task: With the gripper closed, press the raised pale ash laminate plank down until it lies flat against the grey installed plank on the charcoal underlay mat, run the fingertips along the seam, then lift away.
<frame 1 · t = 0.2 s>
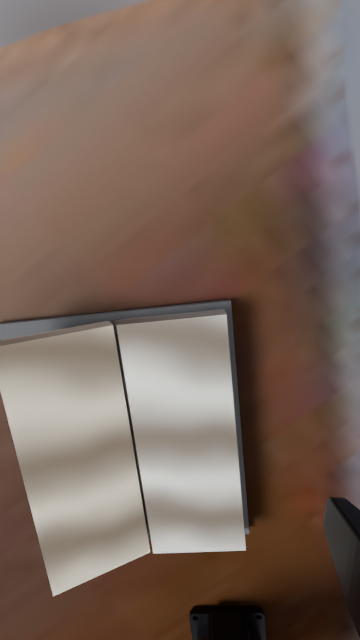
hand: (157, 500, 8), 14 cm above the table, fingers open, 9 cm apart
installed plank: (187, 426, 23), resting on underlay mat
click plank: (81, 457, 21), point 3 cm above the table, hinge at 25.0°
underlay mat: (129, 430, 24), on the table
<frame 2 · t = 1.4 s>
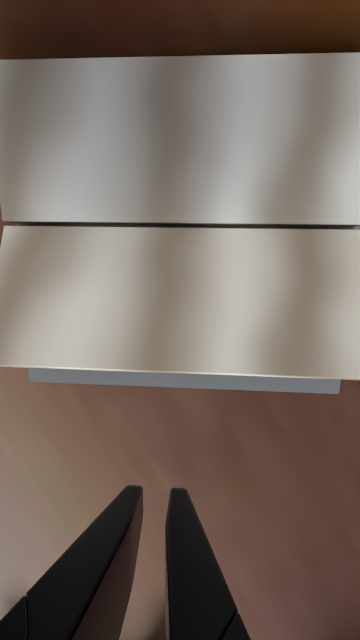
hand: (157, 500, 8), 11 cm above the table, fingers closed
installed plank: (183, 159, 17), resting on underlay mat
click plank: (178, 301, 15), point 3 cm above the table, hinge at 25.0°
underlay mat: (182, 244, 17), on the table
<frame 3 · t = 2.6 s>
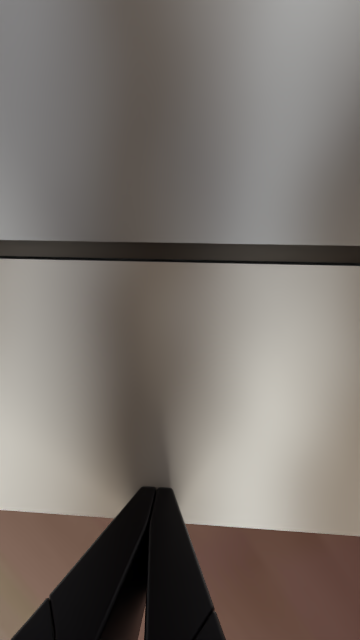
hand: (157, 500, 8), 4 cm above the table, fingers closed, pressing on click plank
installed plank: (173, 128, 10), resting on underlay mat
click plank: (163, 384, 9), point 2 cm above the table, hinge at 15.5°, touching gripper
underlay mat: (171, 271, 11), on the table
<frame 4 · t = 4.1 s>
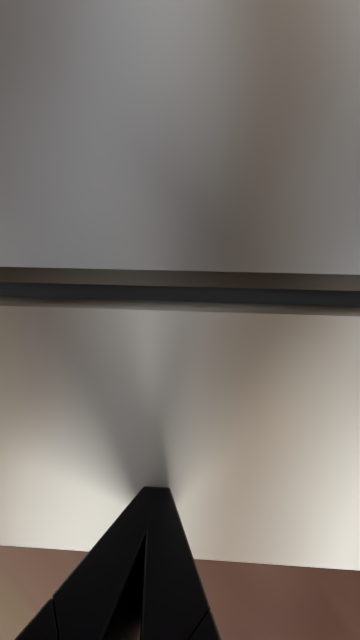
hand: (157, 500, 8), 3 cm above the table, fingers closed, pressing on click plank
installed plank: (274, 140, 9), resting on underlay mat
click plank: (264, 430, 9), point 2 cm above the table, hinge at 1.6°, touching gripper
underlay mat: (262, 300, 10), on the table
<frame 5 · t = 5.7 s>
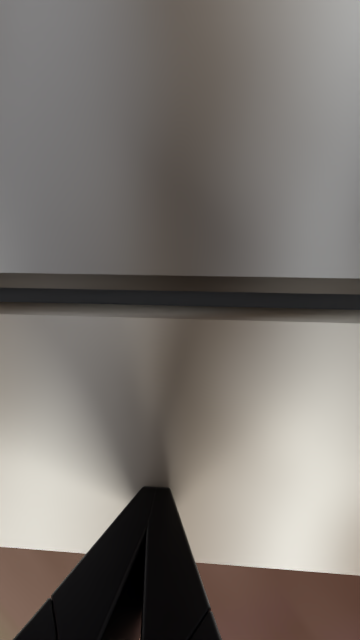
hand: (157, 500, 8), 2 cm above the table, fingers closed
installed plank: (215, 142, 8), resting on underlay mat
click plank: (207, 432, 9), point 2 cm above the table, hinge at 0.0°
underlay mat: (209, 302, 9), on the table
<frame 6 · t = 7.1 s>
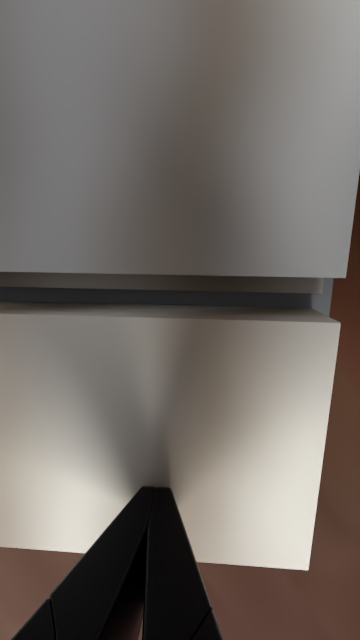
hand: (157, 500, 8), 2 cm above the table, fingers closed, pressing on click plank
installed plank: (3, 144, 9), resting on underlay mat
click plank: (0, 422, 9), point 2 cm above the table, hinge at -0.2°, touching gripper
underlay mat: (18, 297, 10), on the table
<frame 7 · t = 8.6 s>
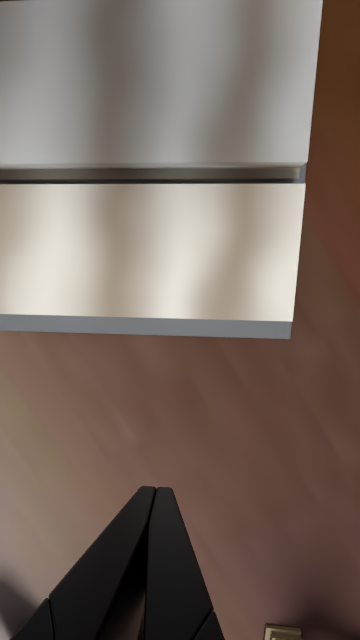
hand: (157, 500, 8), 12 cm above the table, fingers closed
installed plank: (134, 106, 17), resting on underlay mat
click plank: (131, 253, 17), point 2 cm above the table, hinge at -0.2°
underlay mat: (136, 192, 18), on the table
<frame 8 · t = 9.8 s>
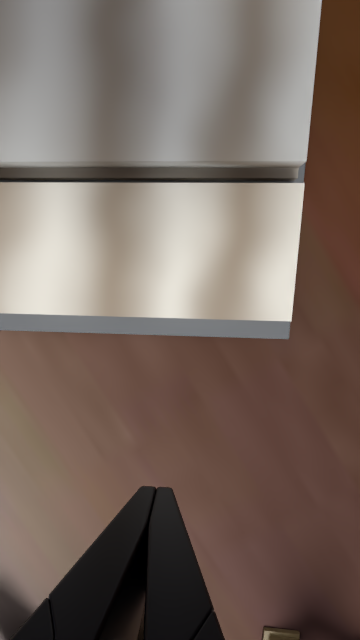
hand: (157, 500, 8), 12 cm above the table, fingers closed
installed plank: (133, 105, 17), resting on underlay mat
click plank: (129, 252, 17), point 2 cm above the table, hinge at -0.2°
underlay mat: (134, 191, 18), on the table
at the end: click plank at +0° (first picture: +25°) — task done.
